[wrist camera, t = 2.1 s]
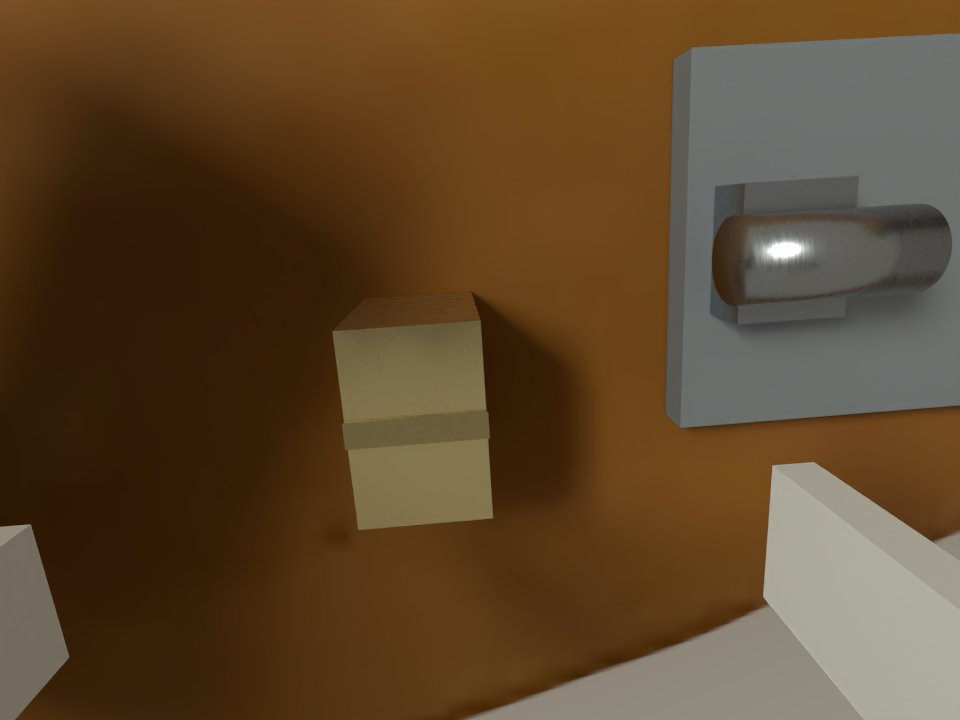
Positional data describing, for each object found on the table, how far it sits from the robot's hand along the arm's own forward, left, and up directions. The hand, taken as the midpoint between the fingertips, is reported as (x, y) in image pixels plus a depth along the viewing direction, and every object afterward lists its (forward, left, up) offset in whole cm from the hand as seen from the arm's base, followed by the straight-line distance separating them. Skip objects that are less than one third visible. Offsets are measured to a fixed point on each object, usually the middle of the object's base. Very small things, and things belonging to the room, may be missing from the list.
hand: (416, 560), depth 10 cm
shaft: (+12, +4, -11) cm, 16 cm away
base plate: (+20, +4, -12) cm, 24 cm away
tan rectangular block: (0, 0, -12) cm, 12 cm away
